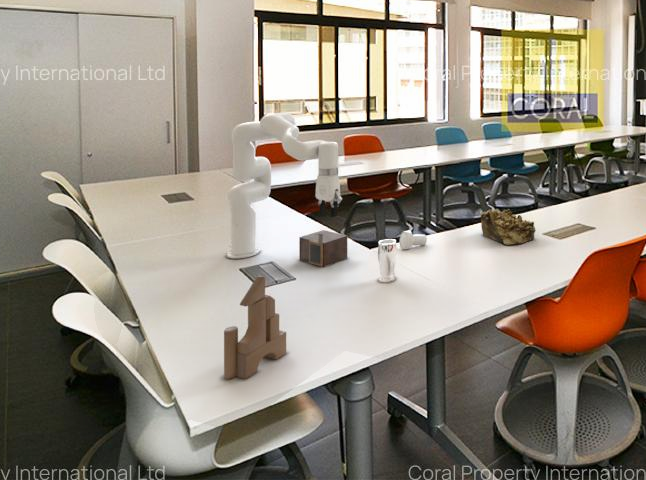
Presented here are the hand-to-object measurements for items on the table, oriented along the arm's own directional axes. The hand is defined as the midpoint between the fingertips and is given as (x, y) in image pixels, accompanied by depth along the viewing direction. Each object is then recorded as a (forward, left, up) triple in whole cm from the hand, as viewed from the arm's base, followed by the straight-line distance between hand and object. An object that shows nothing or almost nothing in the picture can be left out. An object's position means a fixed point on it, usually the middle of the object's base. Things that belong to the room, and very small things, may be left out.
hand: (328, 214), depth 219 cm
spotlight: (+10, +38, -23) cm, 45 cm away
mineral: (+39, +74, -23) cm, 86 cm away
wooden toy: (+44, -57, -23) cm, 76 cm away
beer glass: (+29, +5, -23) cm, 37 cm away
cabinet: (-12, +7, -23) cm, 26 cm away
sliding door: (-8, 0, -22) cm, 23 cm away
